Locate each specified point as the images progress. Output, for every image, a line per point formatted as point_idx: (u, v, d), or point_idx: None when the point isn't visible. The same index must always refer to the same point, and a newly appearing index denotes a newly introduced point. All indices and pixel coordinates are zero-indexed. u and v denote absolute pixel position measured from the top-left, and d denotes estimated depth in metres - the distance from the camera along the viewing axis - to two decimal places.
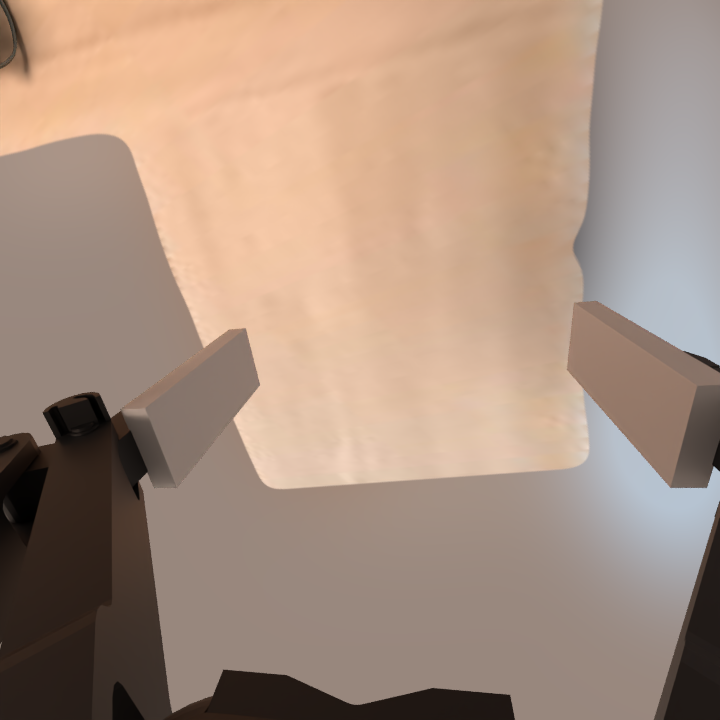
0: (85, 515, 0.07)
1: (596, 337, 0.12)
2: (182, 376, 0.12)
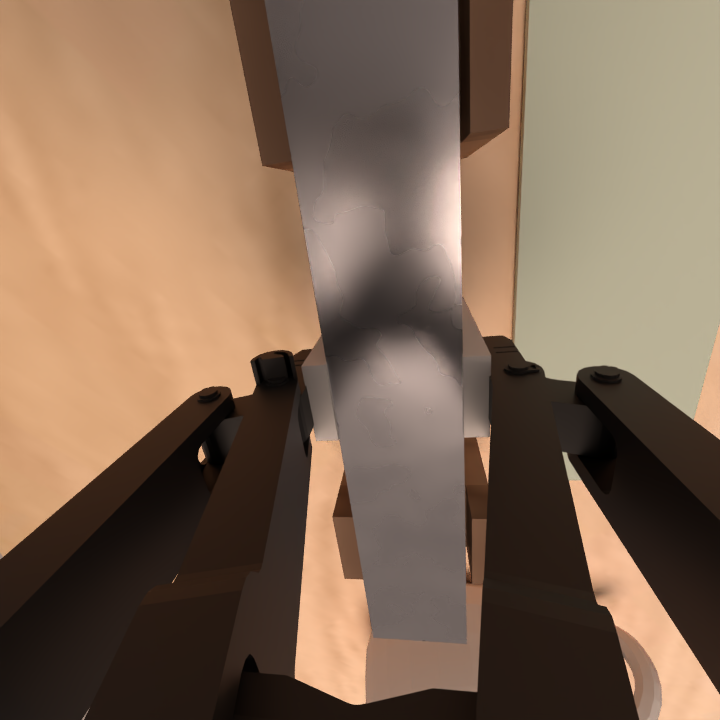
0: (261, 466, 0.07)
1: None
2: None
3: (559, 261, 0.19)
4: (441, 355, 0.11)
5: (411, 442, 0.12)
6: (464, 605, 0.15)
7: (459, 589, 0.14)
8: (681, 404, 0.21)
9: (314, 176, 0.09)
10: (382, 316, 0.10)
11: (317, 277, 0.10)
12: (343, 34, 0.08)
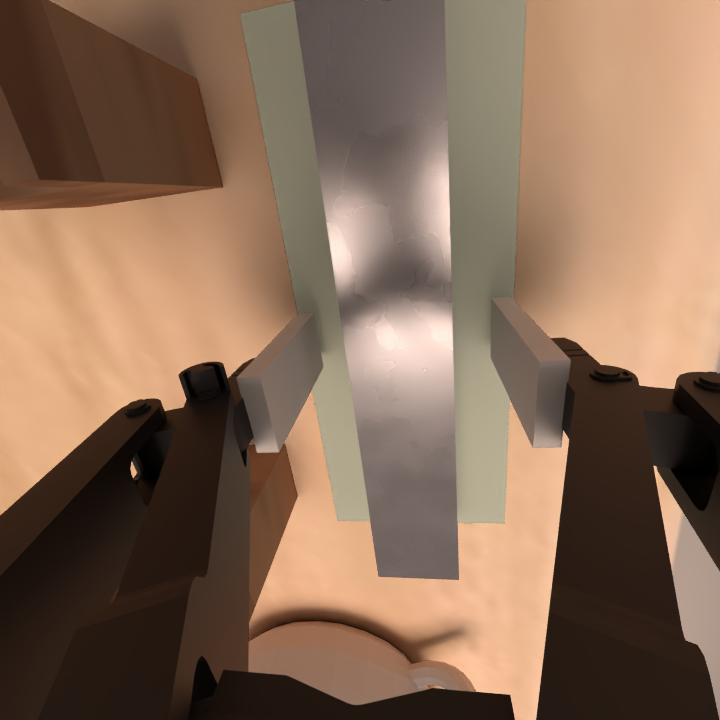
0: (198, 477, 0.07)
1: (500, 327, 0.14)
2: (278, 351, 0.13)
3: (335, 297, 0.18)
4: (435, 323, 0.13)
5: (411, 397, 0.15)
6: (456, 543, 0.17)
7: (452, 528, 0.17)
8: (491, 447, 0.20)
9: (335, 180, 0.12)
10: (387, 292, 0.13)
11: (336, 260, 0.13)
12: (360, 74, 0.11)
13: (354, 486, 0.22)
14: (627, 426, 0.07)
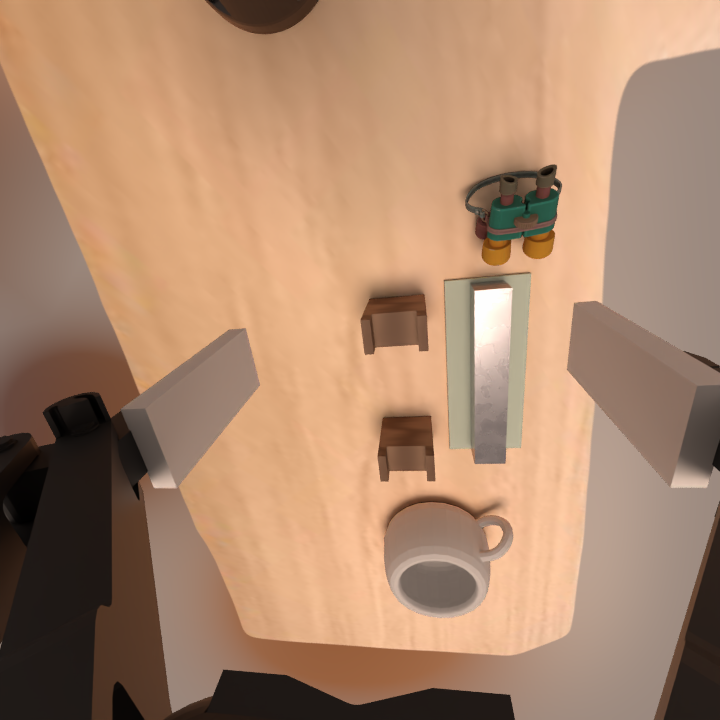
0: (86, 515, 0.07)
1: (596, 337, 0.12)
2: (182, 376, 0.12)
3: (462, 361, 0.49)
4: (503, 374, 0.45)
5: (494, 396, 0.46)
6: (505, 448, 0.49)
7: (504, 442, 0.49)
8: (516, 415, 0.52)
9: (479, 337, 0.44)
10: (490, 366, 0.45)
11: (476, 357, 0.45)
12: (489, 315, 0.42)
13: (459, 433, 0.54)
14: None
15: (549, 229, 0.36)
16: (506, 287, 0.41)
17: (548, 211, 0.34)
